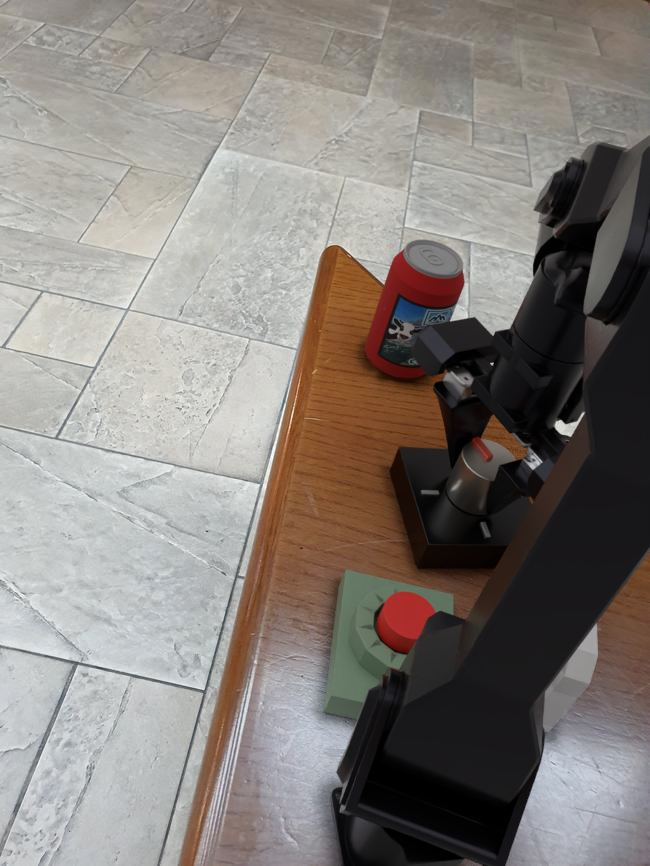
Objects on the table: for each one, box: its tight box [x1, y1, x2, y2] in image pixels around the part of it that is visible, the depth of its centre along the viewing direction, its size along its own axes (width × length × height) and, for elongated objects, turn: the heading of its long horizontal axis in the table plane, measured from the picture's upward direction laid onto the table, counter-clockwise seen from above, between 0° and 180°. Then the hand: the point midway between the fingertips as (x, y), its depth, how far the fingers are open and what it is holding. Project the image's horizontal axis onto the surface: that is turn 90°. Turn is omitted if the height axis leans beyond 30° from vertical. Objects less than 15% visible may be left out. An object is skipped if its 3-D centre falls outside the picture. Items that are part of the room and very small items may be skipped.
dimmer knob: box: [446, 437, 516, 515], centre depth 66 cm, size 4×4×4 cm
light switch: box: [543, 622, 599, 734], centre depth 59 cm, size 2×12×8 cm, turn 168°
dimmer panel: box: [388, 446, 533, 569], centre depth 69 cm, size 10×10×3 cm
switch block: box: [323, 569, 455, 721], centre depth 57 cm, size 10×8×4 cm
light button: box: [377, 592, 436, 653], centre depth 56 cm, size 4×4×2 cm
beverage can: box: [364, 238, 466, 379], centre depth 79 cm, size 7×7×12 cm
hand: (474, 490), depth 67 cm, fingers closed on dimmer knob, 4 cm apart
